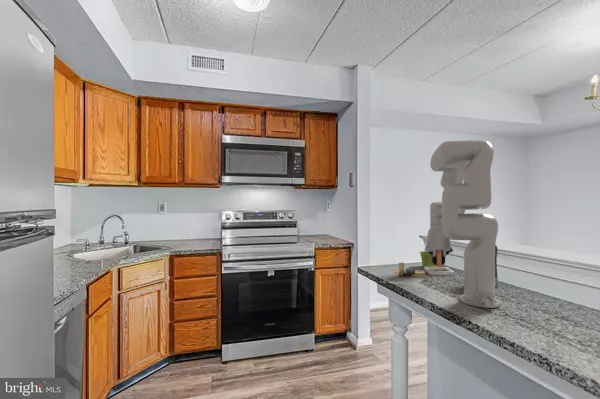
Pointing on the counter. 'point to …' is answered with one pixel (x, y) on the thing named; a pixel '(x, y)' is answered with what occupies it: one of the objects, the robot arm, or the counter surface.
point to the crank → (404, 273)
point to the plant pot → (426, 259)
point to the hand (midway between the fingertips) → (438, 264)
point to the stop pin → (439, 258)
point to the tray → (446, 272)
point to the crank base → (409, 274)
